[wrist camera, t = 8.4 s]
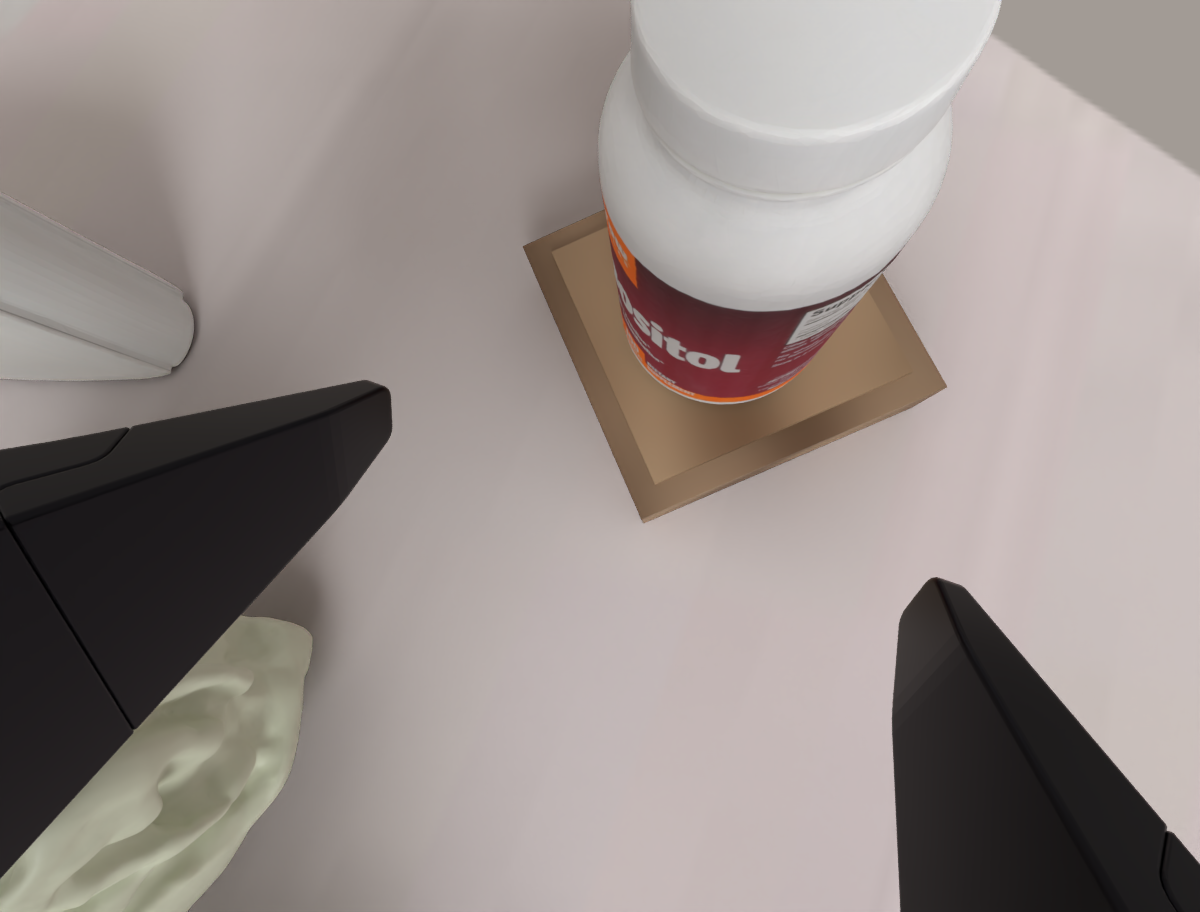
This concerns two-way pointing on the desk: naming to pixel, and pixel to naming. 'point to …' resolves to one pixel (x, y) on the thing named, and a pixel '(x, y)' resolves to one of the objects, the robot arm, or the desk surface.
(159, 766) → the wavy plaster lump
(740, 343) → the pill bottle
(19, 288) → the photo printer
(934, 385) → the plinth
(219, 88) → the desk surface
